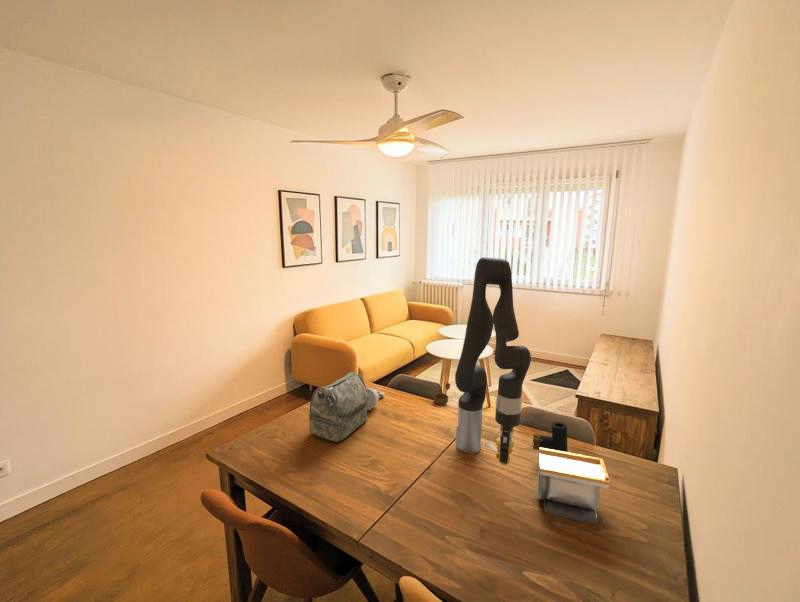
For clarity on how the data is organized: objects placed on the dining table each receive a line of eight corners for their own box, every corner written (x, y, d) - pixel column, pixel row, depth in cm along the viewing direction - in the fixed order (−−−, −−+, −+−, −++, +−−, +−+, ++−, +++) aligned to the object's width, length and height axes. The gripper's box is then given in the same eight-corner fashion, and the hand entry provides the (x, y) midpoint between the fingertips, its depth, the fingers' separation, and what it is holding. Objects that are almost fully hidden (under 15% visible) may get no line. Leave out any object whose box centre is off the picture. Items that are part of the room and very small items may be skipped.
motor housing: (537, 511, 110) (540, 466, 108) (536, 486, 121) (539, 445, 119) (604, 526, 104) (609, 480, 102) (597, 499, 115) (602, 457, 113)
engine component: (354, 409, 173) (355, 387, 174) (365, 401, 193) (366, 382, 194) (376, 411, 171) (377, 389, 172) (385, 403, 191) (386, 383, 192)
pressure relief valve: (502, 470, 113) (503, 439, 112) (478, 452, 124) (478, 423, 123) (516, 465, 116) (517, 435, 114) (490, 448, 126) (491, 420, 125)
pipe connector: (533, 464, 134) (532, 425, 133) (534, 456, 139) (533, 419, 137) (567, 469, 129) (566, 429, 128) (567, 461, 134) (567, 422, 133)
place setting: (419, 402, 186) (420, 391, 185) (446, 392, 198) (446, 382, 197) (445, 414, 172) (445, 403, 171) (472, 403, 185) (472, 392, 184)
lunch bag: (338, 447, 143) (337, 394, 140) (302, 435, 152) (301, 385, 148) (373, 419, 166) (373, 373, 163) (341, 410, 174) (340, 366, 171)
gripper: (498, 396, 122) (495, 442, 125) (493, 415, 109) (489, 466, 112) (522, 400, 120) (517, 447, 123) (520, 420, 106) (515, 472, 109)
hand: (504, 456), depth 117 cm, fingers closed on pressure relief valve, 6 cm apart
